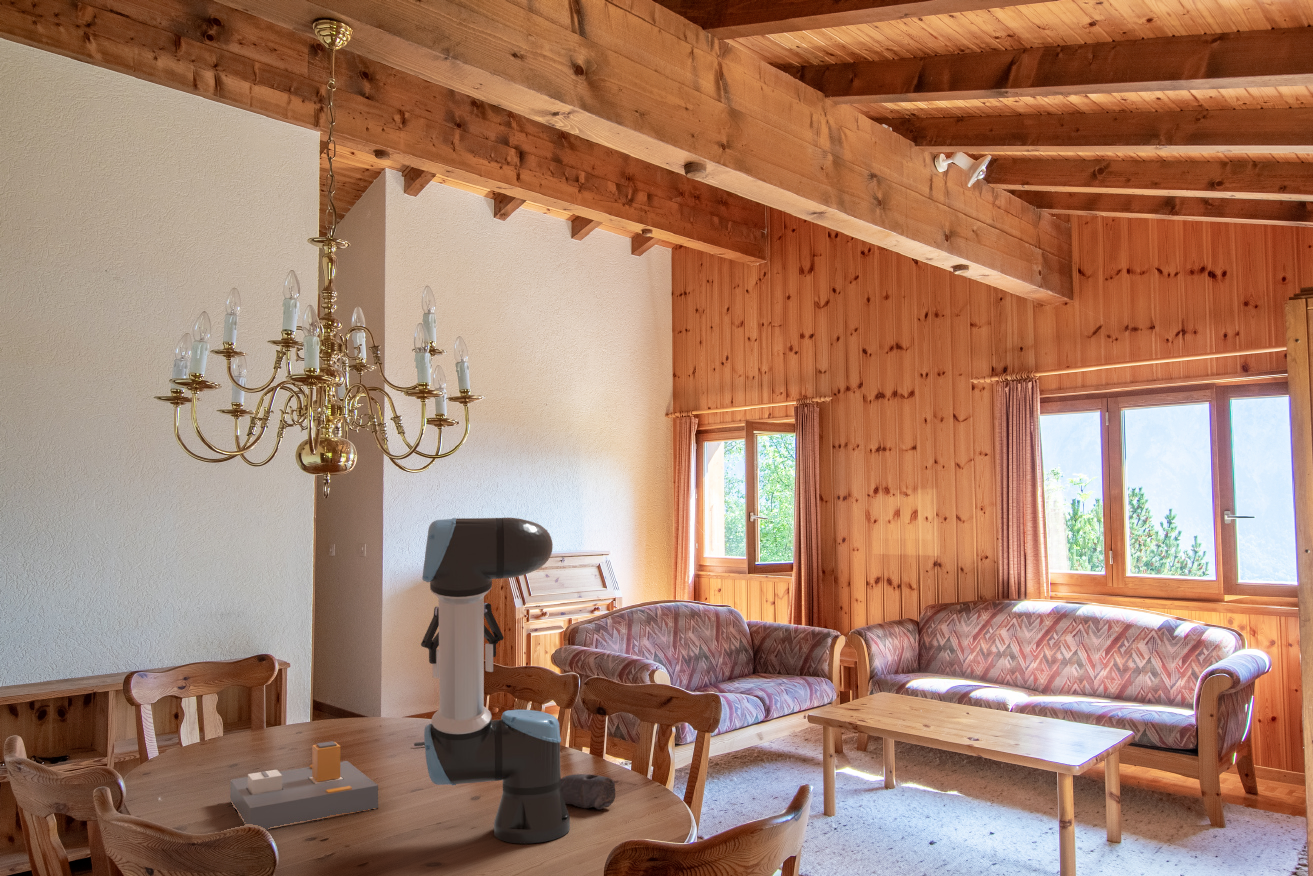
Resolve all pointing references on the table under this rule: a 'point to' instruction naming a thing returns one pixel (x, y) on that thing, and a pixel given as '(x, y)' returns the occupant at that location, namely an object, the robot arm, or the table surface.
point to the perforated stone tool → (588, 790)
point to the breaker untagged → (264, 782)
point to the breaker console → (305, 797)
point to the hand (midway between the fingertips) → (463, 674)
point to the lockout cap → (326, 761)
